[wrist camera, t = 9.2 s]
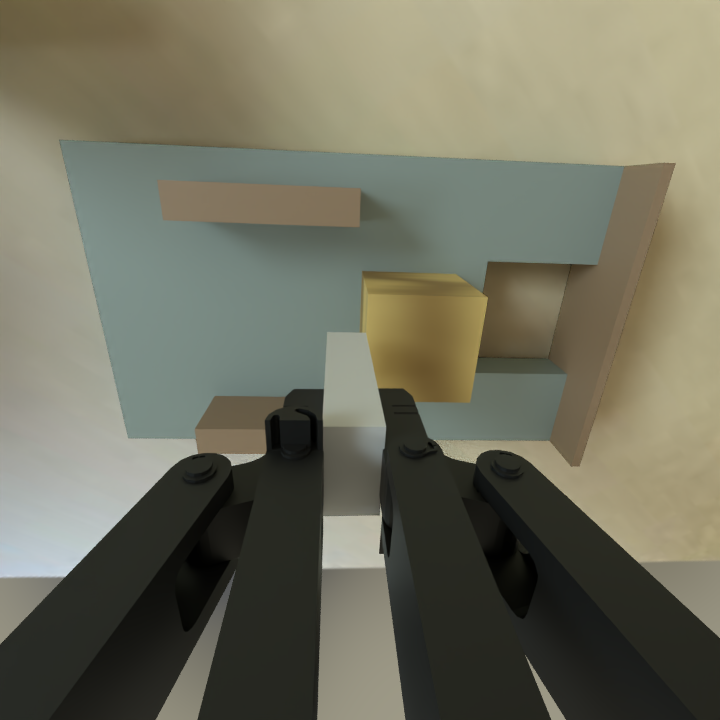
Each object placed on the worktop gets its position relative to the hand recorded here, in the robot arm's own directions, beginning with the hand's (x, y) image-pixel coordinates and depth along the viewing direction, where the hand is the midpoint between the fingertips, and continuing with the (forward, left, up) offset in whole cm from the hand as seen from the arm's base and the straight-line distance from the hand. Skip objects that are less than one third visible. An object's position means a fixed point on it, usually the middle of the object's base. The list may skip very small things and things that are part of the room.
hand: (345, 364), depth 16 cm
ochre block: (+3, 0, -7) cm, 7 cm away
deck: (0, 0, -9) cm, 9 cm away
